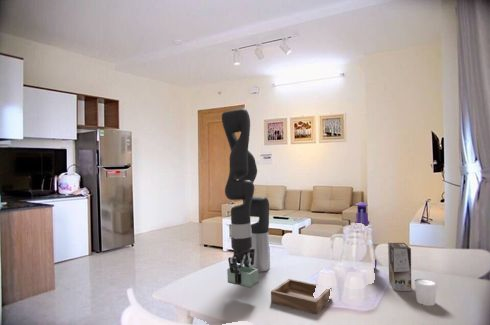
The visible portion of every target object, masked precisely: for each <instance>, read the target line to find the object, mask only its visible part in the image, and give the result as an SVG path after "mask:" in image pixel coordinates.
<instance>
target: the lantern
mask: <svg viewBox="0 0 490 325" xmlns="http://www.w3.org/2000/svg"><path fill="white" fill-rule="evenodd" d="M355 206H357V212H356V216H355V221H354V224H356V223H362V224H364V225H365V226H368V227H369V225H370V220H369V215H368V212H367V206H369V204H368V203H366V202H363V201H359V202H358V203H355ZM377 261H378V260H377V259H376V258H375V269H376V268H377V264H378V263H377Z"/></svg>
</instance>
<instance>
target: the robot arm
mask: <svg viewBox="0 0 490 325" xmlns="http://www.w3.org/2000/svg"><path fill="white" fill-rule="evenodd" d="M221 123H222V127H223V130H224V132H225V136H226V138H227V142H228V144H229V148H230V154H229V171H228V172H229V173H228V178H227V181H226V185H225V188H224V194H225V197H226V198H227V199H228V200H231V201H235V200H236V201H237V200H239V201H240V200H242V203H241V204H239V205H235V206H233V207H231V209H230V220H231V221H230V222H231V223H230V241H231V243H230V245H231V249H232V250H233V256H232V257H228V259H227V260H228V268H230V272H231V273H234V274H235V283H236V284H241V269H242V267H243V266H245V267H250V268H255V269H258V273H260V272H261V273H263V272H267V271H269V270H270V267H271V252H270V251H271V248H270V243H269V242H270V239H269V236H270V235H269V226H270V202H269V199H268V197H265V196H254V192H255V184H254V183H255V180H256V178H257V175H258V168H257V163H256V159H255V157H254V155H253V154H252V152H250V151H249V142H250V136H251V135H250V134H251V119H250V115H249V111H248V110H247V109H246V108H238V109H232V110H227V111H224V112H222V114H221ZM236 133H240V135H239V137H237V135H236ZM253 217H254V218H258V221H257V222H255V223H251V222H252V221H251V218H253ZM237 267H239V269H237ZM233 268H234V270H233ZM236 284H235V285H236Z"/></svg>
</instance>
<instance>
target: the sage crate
mask: <svg viewBox="0 0 490 325" xmlns="http://www.w3.org/2000/svg"><path fill="white" fill-rule="evenodd" d="M237 269H239V267H237ZM233 270H234V268H233ZM226 272H227V273H226V274H227V283H229V284H233V285H236V286H241V287H245V288H249V289H252V287H254V286H256V285H257V284H259V280H260V279H259V272H258V269H255V268H250V267H245V266H244V265H243V267H242V269H241V284H236V283H235V274H234V273H231V272H230V267H228V268H227V269H226Z"/></svg>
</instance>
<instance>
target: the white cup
mask: <svg viewBox="0 0 490 325" xmlns="http://www.w3.org/2000/svg"><path fill="white" fill-rule="evenodd" d="M414 286H415V294H416V302H417V303H418V304H420V305H422V304H423V306H427V307H433V306H436V299H437V290H438V289H437V288H438V284H437V282H436V281H435V280H433V279H432V280H431V279H428V278H417V279H414Z"/></svg>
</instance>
